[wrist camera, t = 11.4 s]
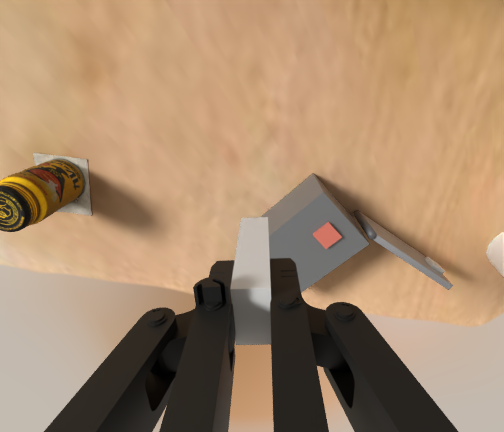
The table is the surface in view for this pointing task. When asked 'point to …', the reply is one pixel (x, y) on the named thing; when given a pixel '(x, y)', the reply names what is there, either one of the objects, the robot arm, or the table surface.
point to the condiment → (44, 191)
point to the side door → (402, 250)
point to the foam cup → (497, 253)
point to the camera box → (312, 231)
